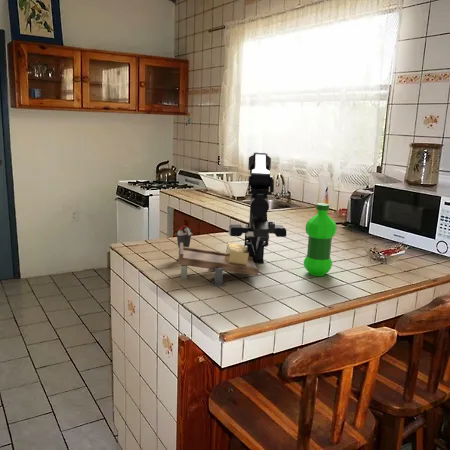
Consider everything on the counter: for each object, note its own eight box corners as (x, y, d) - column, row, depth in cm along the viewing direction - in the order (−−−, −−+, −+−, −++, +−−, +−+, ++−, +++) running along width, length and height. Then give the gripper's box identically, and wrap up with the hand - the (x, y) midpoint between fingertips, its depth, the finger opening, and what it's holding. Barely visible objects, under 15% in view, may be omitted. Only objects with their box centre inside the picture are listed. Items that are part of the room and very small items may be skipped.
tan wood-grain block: (242, 258, 159) (244, 245, 158) (246, 267, 150) (248, 253, 149) (225, 256, 159) (227, 242, 158) (228, 265, 149) (231, 250, 148)
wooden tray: (250, 264, 163) (252, 253, 162) (257, 277, 148) (259, 265, 148) (178, 253, 159) (180, 242, 158) (178, 266, 145) (180, 254, 144)
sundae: (176, 263, 167) (176, 223, 164) (173, 257, 173) (173, 219, 170) (193, 262, 169) (194, 222, 165) (190, 257, 175) (191, 218, 172)
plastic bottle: (338, 276, 160) (345, 206, 154) (314, 280, 154) (321, 207, 149) (318, 267, 168) (324, 201, 162) (296, 271, 163) (301, 202, 157)
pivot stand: (219, 267, 164) (220, 252, 163) (224, 286, 146) (225, 269, 144) (180, 267, 163) (181, 252, 161) (180, 285, 144) (181, 269, 143)
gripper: (233, 214, 142) (231, 262, 146) (292, 215, 144) (288, 262, 148) (229, 207, 153) (227, 252, 156) (284, 208, 155) (281, 252, 158)
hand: (256, 255), depth 154 cm, fingers closed
